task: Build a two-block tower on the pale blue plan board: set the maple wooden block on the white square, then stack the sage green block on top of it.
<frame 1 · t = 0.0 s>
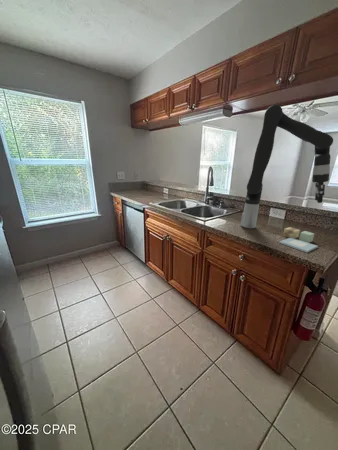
hand: (318, 201, 110), 22 cm above the worktop, tool pointing down, fingers open, 8 cm apart
maple block: (290, 236, 116), on the worktop
plan board: (297, 245, 104), on the worktop
sage block: (305, 240, 110), on the worktop
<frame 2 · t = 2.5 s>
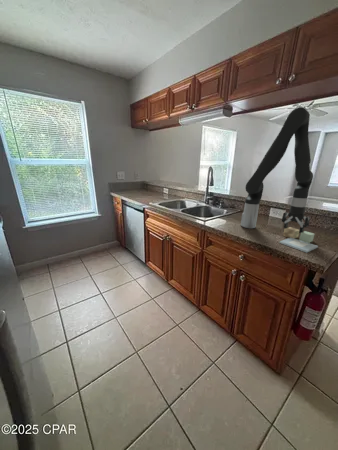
hand: (292, 230, 114), 4 cm above the worktop, tool pointing down, fingers open, 8 cm apart
sage block: (305, 241, 110), on the worktop, touching gripper
everything else where it was.
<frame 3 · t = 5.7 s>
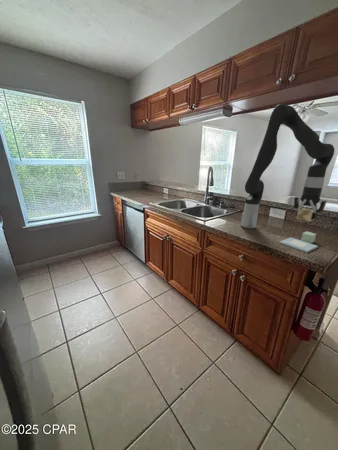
hand: (305, 217, 99), 16 cm above the worktop, tool pointing down, fingers closed on maple block, 6 cm apart
maple block: (305, 219, 99), point 15 cm above the worktop, touching gripper
sage block: (307, 241, 109), on the worktop
when the fingers open (3 cm above the worktop, at t = 8.4 s): maple block stays where it is, resting on plan board.
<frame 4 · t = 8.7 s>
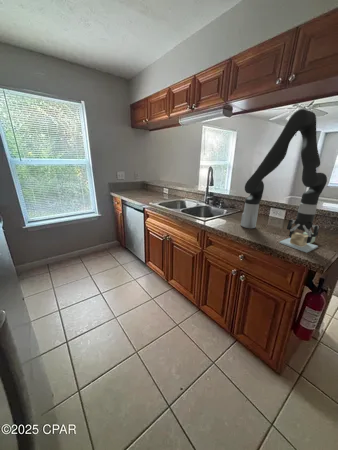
hand: (299, 240, 103), 3 cm above the worktop, tool pointing down, fingers open, 8 cm apart
maple block: (298, 243, 104), point 1 cm above the worktop, touching plan board
everything else where it was.
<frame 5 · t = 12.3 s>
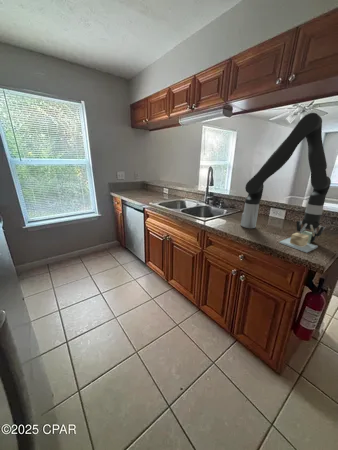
hand: (306, 239, 110), 0 cm above the worktop, tool pointing down, fingers closed on sage block, 5 cm apart
sage block: (306, 240, 110), on the worktop, touching gripper
everything else where it was.
when the fingers open (7 cm above the worktop, at t = 17.7 s): sage block stays where it is, resting on maple block.
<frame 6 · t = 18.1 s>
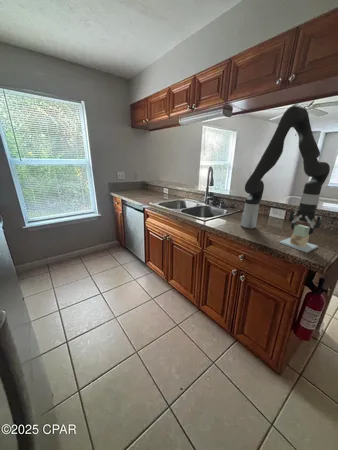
hand: (301, 231, 101), 8 cm above the worktop, tool pointing down, fingers open, 8 cm apart
maple block: (298, 243, 104), point 1 cm above the worktop, touching plan board, sage block
sage block: (300, 234, 102), point 6 cm above the worktop, touching maple block
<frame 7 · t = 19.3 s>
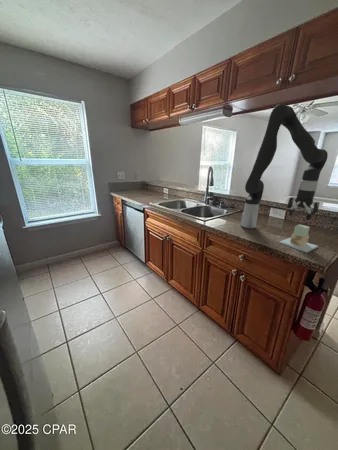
hand: (299, 217, 104), 14 cm above the worktop, tool pointing down, fingers open, 8 cm apart
nothing on the worktop moved.
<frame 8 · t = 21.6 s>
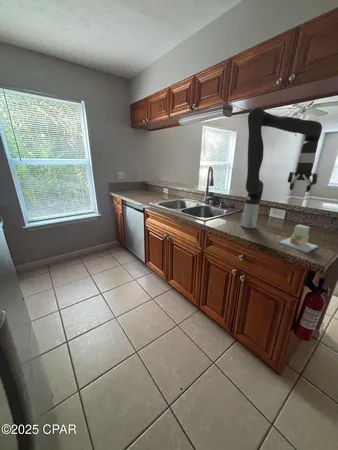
hand: (299, 190, 110), 28 cm above the worktop, tool pointing down, fingers open, 8 cm apart
nothing on the worktop moved.
at the end: maple block 0.1 cm off-centre on the plan board, point 1.1 cm above the plan board's base; sage block 0.3 cm off-centre on the maple block, point 5.0 cm above the maple block's base; sage block tilted 0° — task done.
